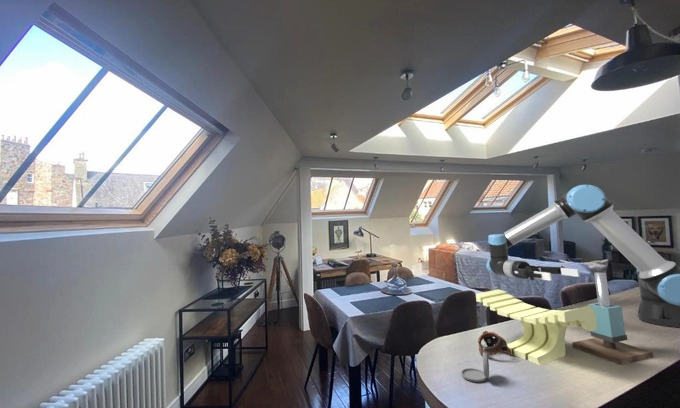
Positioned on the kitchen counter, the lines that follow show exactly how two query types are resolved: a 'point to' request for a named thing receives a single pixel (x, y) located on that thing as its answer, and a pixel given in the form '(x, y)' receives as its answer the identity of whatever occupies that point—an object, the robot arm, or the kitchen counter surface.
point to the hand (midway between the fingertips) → (565, 275)
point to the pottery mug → (490, 341)
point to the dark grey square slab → (610, 339)
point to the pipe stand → (604, 348)
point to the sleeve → (609, 320)
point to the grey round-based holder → (477, 374)
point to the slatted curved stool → (538, 325)
